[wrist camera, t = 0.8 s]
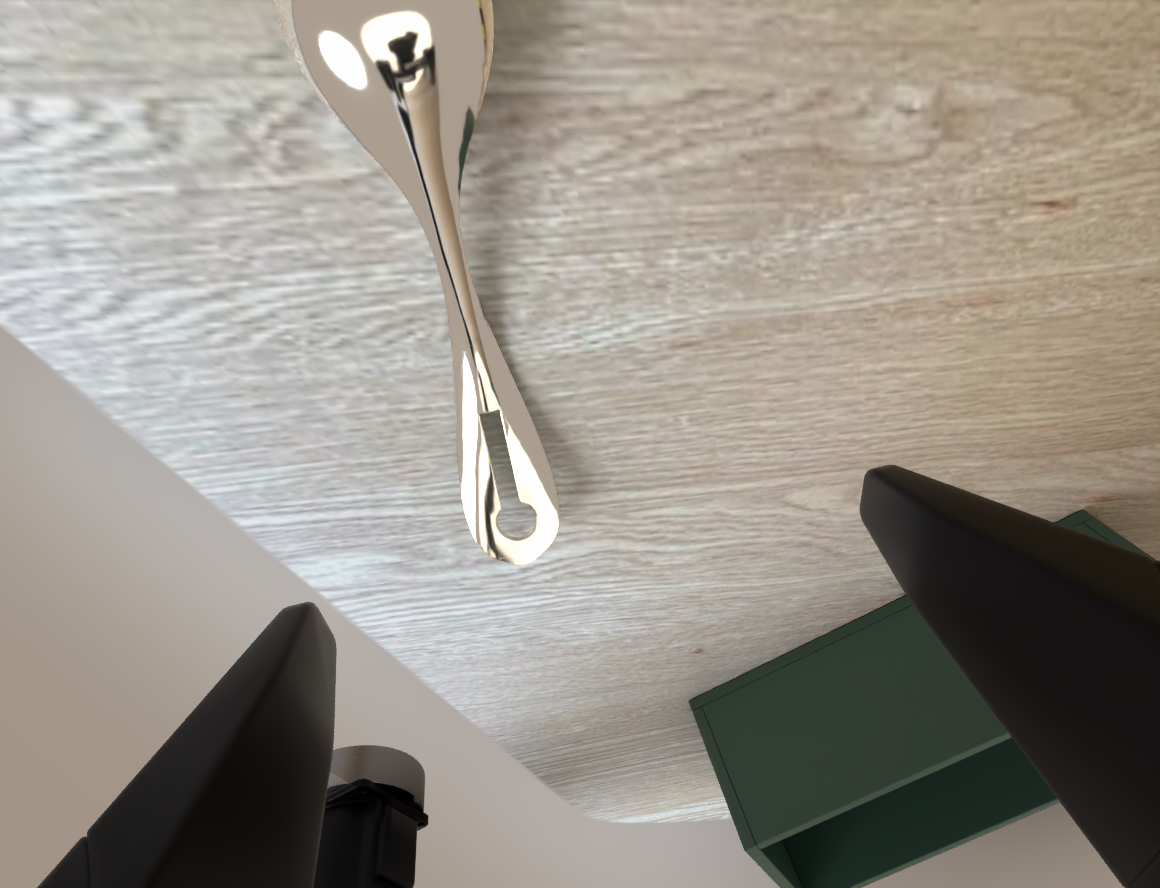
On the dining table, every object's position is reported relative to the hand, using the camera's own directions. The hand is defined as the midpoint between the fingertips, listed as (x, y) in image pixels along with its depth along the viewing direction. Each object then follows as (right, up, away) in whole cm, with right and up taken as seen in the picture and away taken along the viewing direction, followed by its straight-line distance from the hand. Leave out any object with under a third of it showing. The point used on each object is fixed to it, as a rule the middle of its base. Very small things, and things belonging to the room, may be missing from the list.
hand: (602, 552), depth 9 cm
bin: (+18, -11, +25) cm, 32 cm away
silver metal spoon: (-4, +6, +10) cm, 12 cm away
